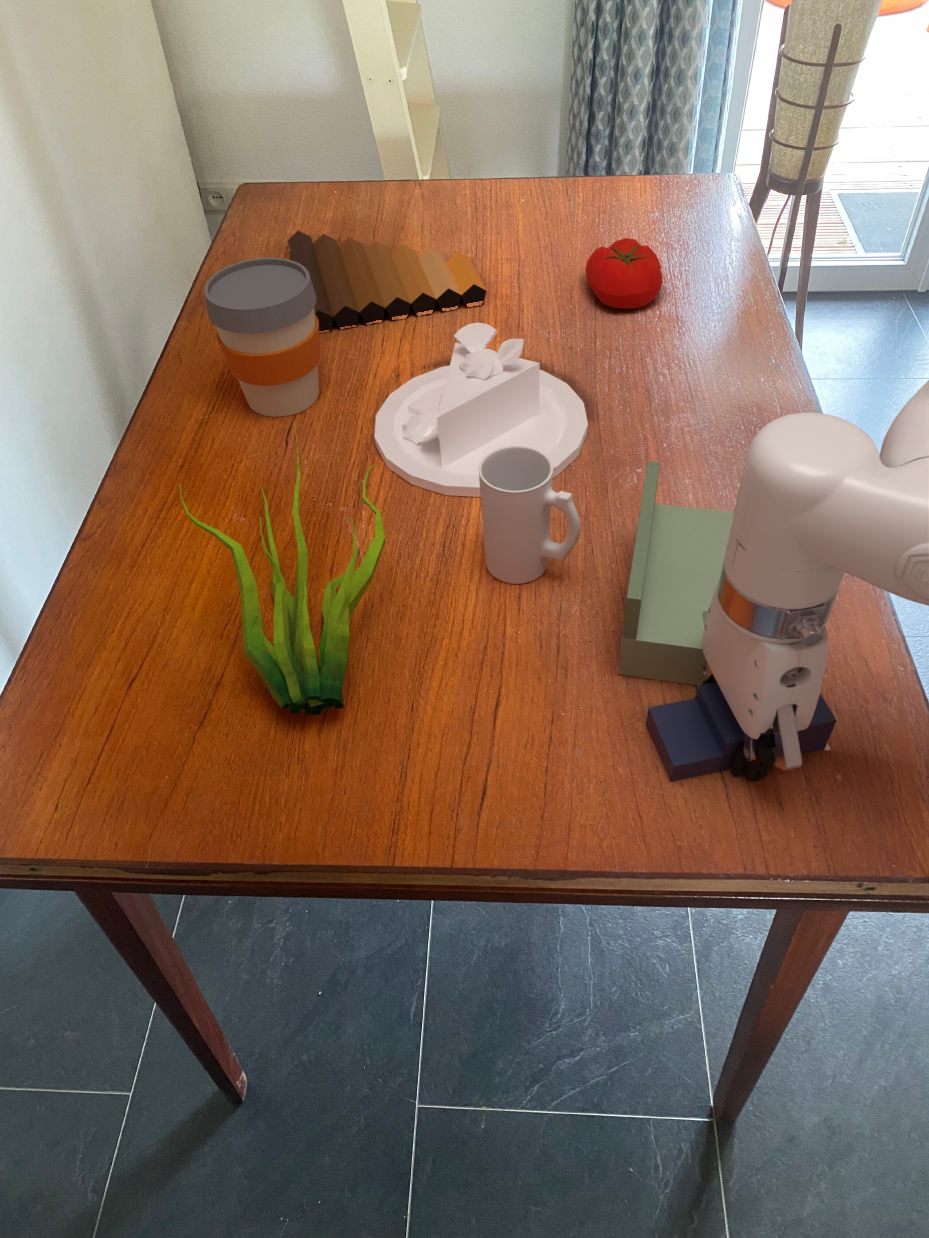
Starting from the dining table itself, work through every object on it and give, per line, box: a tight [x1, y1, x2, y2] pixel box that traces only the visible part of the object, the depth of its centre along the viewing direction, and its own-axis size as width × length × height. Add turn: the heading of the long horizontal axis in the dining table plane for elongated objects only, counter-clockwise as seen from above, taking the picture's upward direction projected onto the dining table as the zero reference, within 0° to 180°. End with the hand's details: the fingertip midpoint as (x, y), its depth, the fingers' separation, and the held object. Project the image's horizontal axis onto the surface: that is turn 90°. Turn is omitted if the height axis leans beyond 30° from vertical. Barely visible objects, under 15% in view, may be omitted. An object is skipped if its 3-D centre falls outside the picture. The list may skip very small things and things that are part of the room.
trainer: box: [645, 682, 837, 783], centre depth 73 cm, size 14×6×6 cm, turn 102°
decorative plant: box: [178, 422, 386, 716], centre depth 84 cm, size 18×30×15 cm, turn 169°
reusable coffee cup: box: [203, 257, 321, 418], centre depth 108 cm, size 13×13×15 cm
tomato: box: [584, 237, 663, 310], centre depth 123 cm, size 10×11×6 cm
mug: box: [479, 446, 582, 585], centre depth 86 cm, size 10×7×12 cm, turn 59°
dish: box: [374, 322, 589, 498], centre depth 103 cm, size 25×25×11 cm
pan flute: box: [287, 230, 488, 331], centre depth 132 cm, size 25×3×25 cm
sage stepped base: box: [617, 461, 734, 687], centre depth 82 cm, size 12×18×10 cm, turn 167°
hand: (732, 739), depth 74 cm, fingers closed on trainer, 6 cm apart
